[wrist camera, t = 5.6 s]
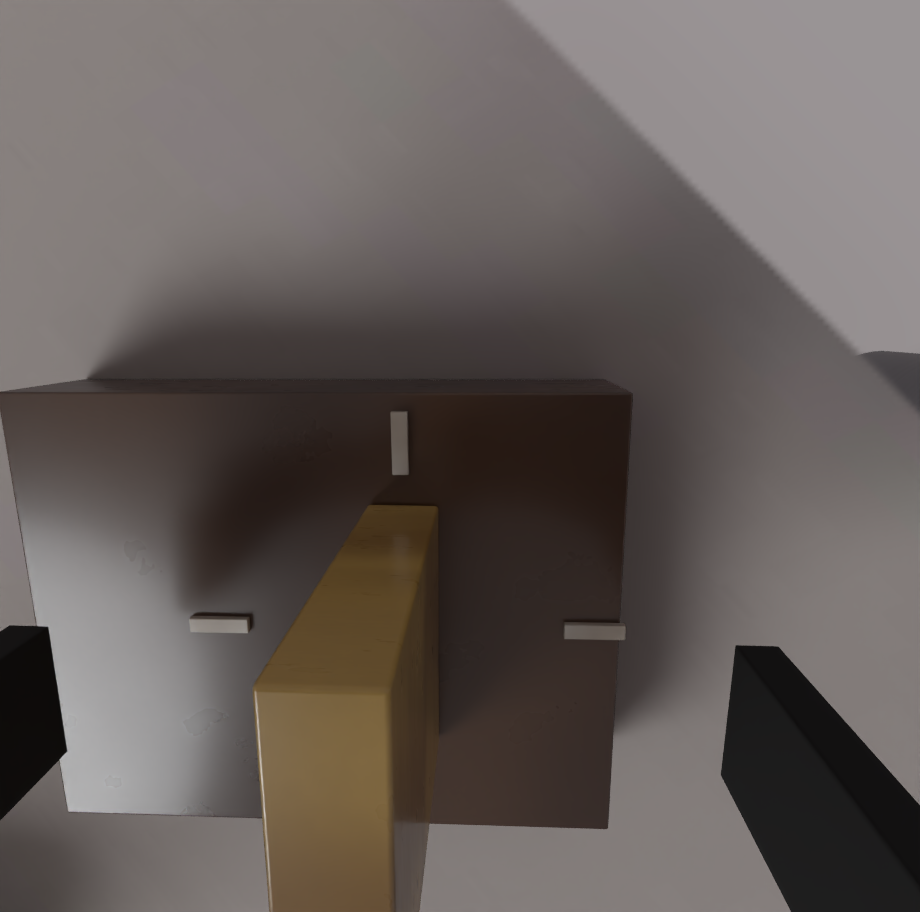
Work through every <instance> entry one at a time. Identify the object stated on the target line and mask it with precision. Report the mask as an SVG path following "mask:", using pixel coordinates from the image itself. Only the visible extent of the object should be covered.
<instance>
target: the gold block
mask: <svg viewBox="0 0 920 912" xmlns="http://www.w3.org/2000/svg"><path fill="white" fill-rule="evenodd" d="M252 690H253V703H254V716H255V729H256V742H257V755H258V768H259V781H260V794H261V807H262V820H263V833H264V846H265V859H266V872H267V885H268V898H269V911H270V912H419V910H420V901H421V893H422V884H423V875H424V866H425V858H426V849H427V840H428V831H429V823H430V814H431V805H432V796H433V788H434V779H435V770H436V761H437V753H438V744H439V557H438V508H437V507H436V506H405V505H369V506H367V508H366V510H365V511H364V513H363V514H362V516H361V517H360V519H359V521H358V522H357V524H356V525H355V527H354V528H353V530H352V531H351V533H350V535H349V536H348V538H347V539H346V541H345V542H344V544H343V545H342V547H341V549H340V550H339V552H338V553H337V555H336V556H335V558H334V560H333V561H332V563H331V564H330V566H329V567H328V569H327V570H326V572H325V574H324V575H323V577H322V578H321V580H320V581H319V583H318V585H317V586H316V588H315V589H314V591H313V592H312V594H311V595H310V597H309V599H308V600H307V602H306V603H305V605H304V606H303V608H302V610H301V611H300V613H299V614H298V616H297V617H296V619H295V620H294V622H293V624H292V625H291V627H290V628H289V630H288V631H287V633H286V634H285V636H284V638H283V639H282V641H281V642H280V644H279V645H278V647H277V649H276V650H275V652H274V653H273V655H272V656H271V658H270V659H269V661H268V663H267V664H266V666H265V667H264V669H263V670H262V672H261V674H260V675H259V677H258V678H257V680H256V681H255V683H254V685H253V688H252Z"/></svg>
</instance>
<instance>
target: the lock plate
mask: <svg viewBox="0 0 920 912" xmlns="http://www.w3.org/2000/svg"><path fill="white" fill-rule="evenodd" d="M632 402H633V394H632V393H631V392H629V391H627V390H625V389H623V388H621V387H619V386H617V385H615V384H613V383H611V382H609V381H607V380H77V381H70V382H63V383H57V384H50V385H43V386H36V387H29V388H23V389H16V390H9V391H2V392H0V412H1V418H2V424H3V430H4V436H5V442H6V448H7V453H8V459H9V465H10V471H11V477H12V483H13V489H14V495H15V501H16V507H17V513H18V519H19V525H20V531H21V537H22V543H23V549H24V555H25V561H26V567H27V572H28V578H29V584H30V590H31V596H32V602H33V608H34V614H35V620H36V626H45V627H48V628H49V634H50V641H51V647H52V654H53V660H54V667H55V673H56V680H57V686H58V693H59V699H60V706H61V713H62V719H63V726H64V732H65V739H66V745H67V752H66V753H65V754H64V755H63V756H62V757H61V758H60V760H59V763H60V769H61V775H62V781H63V787H64V793H65V799H66V805H67V810H68V812H80V813H111V814H143V815H175V816H207V817H239V818H262V807H261V794H260V781H259V768H258V755H257V742H256V729H255V716H254V703H253V690H252V688H253V685H254V683H255V681H256V680H257V678H258V677H259V675H260V674H261V672H262V670H263V669H264V667H265V666H266V664H267V663H268V661H269V659H270V658H271V656H272V655H273V653H274V652H275V650H276V649H277V647H278V645H279V644H280V642H281V641H282V639H283V638H284V636H285V634H286V633H287V631H288V630H289V628H290V627H291V625H292V624H293V622H294V620H295V619H296V617H297V616H298V614H299V613H300V611H301V610H302V608H303V606H304V605H305V603H306V602H307V600H308V599H309V597H310V595H311V594H312V592H313V591H314V589H315V588H316V586H317V585H318V583H319V581H320V580H321V578H322V577H323V575H324V574H325V572H326V570H327V569H328V567H329V566H330V564H331V563H332V561H333V560H334V558H335V556H336V555H337V553H338V552H339V550H340V549H341V547H342V545H343V544H344V542H345V541H346V539H347V538H348V536H349V535H350V533H351V531H352V530H353V528H354V527H355V525H356V524H357V522H358V521H359V519H360V517H361V516H362V514H363V513H364V511H365V510H366V508H367V506H369V505H405V506H436V507H437V508H438V557H439V744H438V753H437V761H436V770H435V779H434V788H433V796H432V805H431V814H430V823H431V824H463V825H495V826H527V827H559V828H591V829H607V828H608V819H609V802H610V784H611V767H612V750H613V732H614V715H615V698H616V680H617V663H618V645H619V640H625V635H626V625H625V623H620V611H621V593H622V576H623V559H624V541H625V524H626V506H627V489H628V472H629V454H630V437H631V420H632Z"/></svg>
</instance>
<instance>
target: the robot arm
mask: <svg viewBox="0 0 920 912" xmlns="http://www.w3.org/2000/svg"><path fill="white" fill-rule="evenodd" d="M66 752H67V745H66V739H65V732H64V726H63V719H62V713H61V706H60V699H59V693H58V686H57V680H56V673H55V667H54V660H53V654H52V647H51V641H50V634H49V628H48V627H45V626H8V627H7V628H5V629H4V630H2V631H0V820H1V819H2V818H3V817H4V816H5V815H6V814H7V813H8V812H9V811H10V810H11V809H12V808H13V807H14V806H15V805H16V804H17V803H18V802H19V801H20V800H21V799H22V798H23V797H24V795H25V794H26V793H27V792H28V791H29V790H30V789H31V788H32V787H33V786H34V785H35V784H36V783H37V782H38V781H39V780H40V779H41V778H42V777H43V776H44V775H45V774H46V773H47V772H48V771H49V770H50V769H51V768H52V767H53V766H54V765H55V764H56V763H57V762H58V761H59V760H60V758H61V757H62V756H63V755H64V754H65V753H66ZM721 776H722V778H723V780H724V782H725V784H726V786H727V788H728V790H729V792H730V794H731V795H732V797H733V799H734V801H735V803H736V805H737V807H738V809H739V811H740V813H741V815H742V817H743V819H744V821H745V823H746V825H747V827H748V829H749V830H750V832H751V834H752V836H753V838H754V840H755V842H756V844H757V846H758V848H759V850H760V852H761V854H762V856H763V858H764V860H765V862H766V864H767V866H768V867H769V869H770V871H771V873H772V875H773V877H774V879H775V881H776V883H777V885H778V887H779V889H780V891H781V893H782V895H783V897H784V899H785V901H786V902H787V904H788V906H789V908H790V910H791V912H920V805H919V804H918V803H917V802H916V801H915V800H914V798H913V797H912V796H911V795H910V794H909V793H908V792H907V791H906V789H905V788H904V787H903V786H902V785H901V784H900V783H899V782H898V780H897V779H896V778H895V777H894V776H893V775H892V774H891V773H890V771H889V770H888V769H887V768H886V767H885V766H884V765H883V764H882V762H881V761H880V760H879V759H878V758H877V757H876V756H875V755H874V754H873V752H872V751H871V750H870V749H869V748H868V747H867V746H866V745H865V743H864V742H863V741H862V740H861V739H860V738H859V737H858V736H857V734H856V733H855V732H854V731H853V730H852V729H851V728H850V727H849V725H848V724H847V723H846V722H845V721H844V720H843V719H842V718H841V716H840V715H839V714H838V713H837V712H836V711H835V710H834V709H833V708H832V706H831V705H830V704H829V703H828V702H827V701H826V700H825V699H824V697H823V696H822V695H821V694H820V693H819V692H818V691H817V690H816V688H815V687H814V686H813V685H812V684H811V683H810V682H809V681H808V679H807V678H806V677H805V676H804V675H803V674H802V673H801V672H800V670H799V669H798V668H797V667H796V666H795V665H794V664H793V663H792V662H791V660H790V659H789V658H788V657H787V656H786V655H785V654H784V653H783V651H782V650H781V649H780V648H779V647H774V646H738V645H736V647H735V656H734V665H733V674H732V682H731V691H730V700H729V709H728V717H727V726H726V735H725V744H724V752H723V761H722V770H721Z"/></svg>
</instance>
